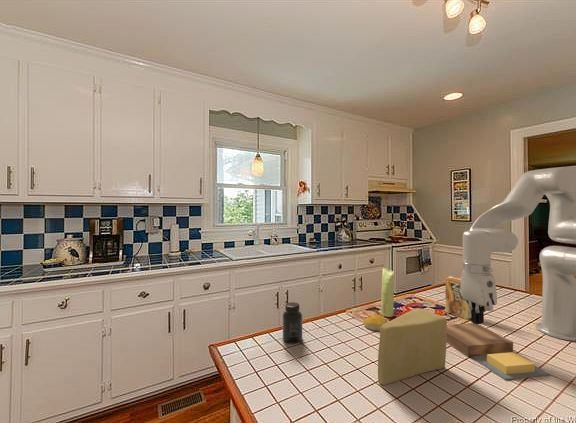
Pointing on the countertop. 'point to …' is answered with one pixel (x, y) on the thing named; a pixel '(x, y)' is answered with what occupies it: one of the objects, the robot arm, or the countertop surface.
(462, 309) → the candy box
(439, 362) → the cheese
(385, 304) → the tube
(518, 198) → the robot arm
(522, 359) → the yellow block
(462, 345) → the brown wooden block
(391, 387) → the countertop surface
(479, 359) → the mat
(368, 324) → the bread roll
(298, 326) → the supplement bottle
